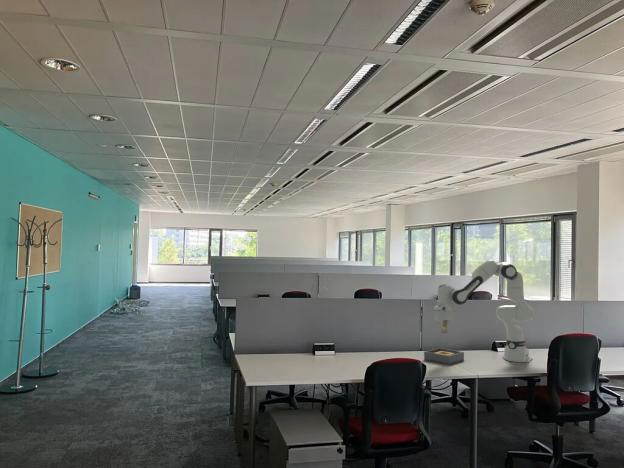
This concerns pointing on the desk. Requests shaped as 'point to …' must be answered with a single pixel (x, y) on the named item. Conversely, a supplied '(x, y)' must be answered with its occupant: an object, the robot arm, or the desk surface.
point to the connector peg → (444, 329)
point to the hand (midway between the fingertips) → (444, 326)
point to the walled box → (444, 356)
